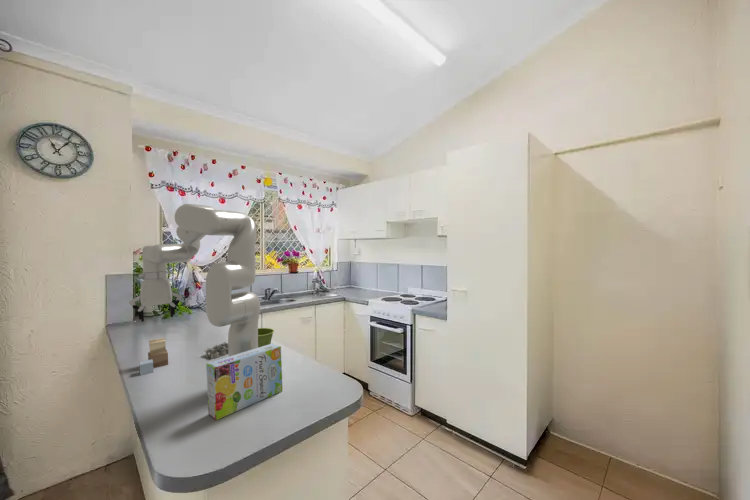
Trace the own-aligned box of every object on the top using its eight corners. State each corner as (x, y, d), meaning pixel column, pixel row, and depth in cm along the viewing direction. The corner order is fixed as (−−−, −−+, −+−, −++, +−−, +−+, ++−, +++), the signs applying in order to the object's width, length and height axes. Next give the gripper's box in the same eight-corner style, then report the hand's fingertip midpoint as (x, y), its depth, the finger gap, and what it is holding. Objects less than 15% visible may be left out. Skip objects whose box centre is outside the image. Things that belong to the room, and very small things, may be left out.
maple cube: (165, 353, 124) (165, 340, 124) (150, 356, 121) (149, 343, 121) (164, 349, 128) (164, 337, 128) (149, 352, 125) (149, 340, 125)
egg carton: (213, 360, 130) (213, 350, 129) (202, 357, 133) (202, 347, 133) (236, 351, 139) (235, 342, 139) (225, 349, 143) (225, 340, 142)
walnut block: (168, 365, 125) (167, 352, 124) (149, 369, 121) (149, 356, 120) (166, 360, 129) (165, 349, 129) (148, 364, 125) (148, 352, 125)
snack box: (273, 386, 105) (272, 342, 104) (283, 391, 101) (282, 345, 101) (207, 414, 88) (205, 362, 88) (216, 421, 85) (214, 367, 84)
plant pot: (265, 364, 123) (264, 336, 123) (238, 362, 126) (238, 335, 125) (280, 353, 135) (279, 328, 135) (255, 352, 137) (254, 327, 137)
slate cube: (153, 372, 117) (153, 362, 117) (140, 375, 115) (139, 365, 115) (152, 369, 120) (152, 359, 120) (139, 372, 118) (139, 361, 118)
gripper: (127, 279, 115) (130, 324, 116) (181, 274, 126) (184, 316, 126) (127, 277, 121) (130, 321, 122) (179, 273, 132) (181, 313, 132)
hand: (157, 318), depth 124 cm, fingers open, 9 cm apart
